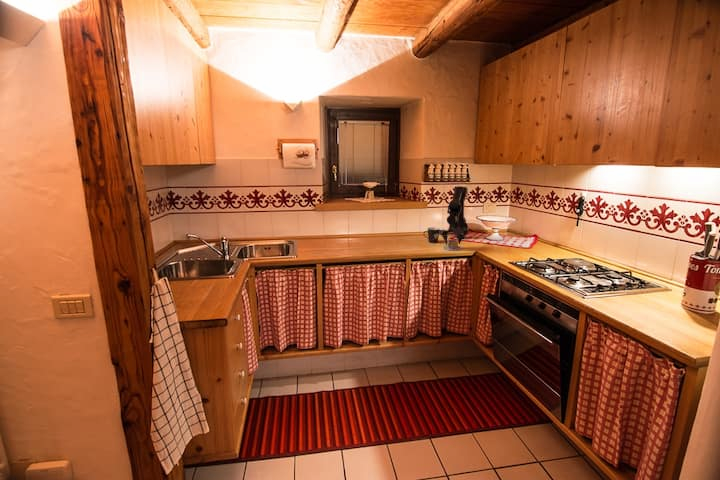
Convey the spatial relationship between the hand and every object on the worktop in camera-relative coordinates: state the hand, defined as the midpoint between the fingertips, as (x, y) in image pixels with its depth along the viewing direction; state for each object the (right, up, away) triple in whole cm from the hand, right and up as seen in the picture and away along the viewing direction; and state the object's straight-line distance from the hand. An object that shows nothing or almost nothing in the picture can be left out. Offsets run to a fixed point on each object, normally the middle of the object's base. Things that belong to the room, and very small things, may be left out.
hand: (452, 244), depth 237 cm
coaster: (0, -3, +1) cm, 3 cm away
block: (0, -2, 0) cm, 2 cm away
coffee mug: (-11, +1, +18) cm, 21 cm away
